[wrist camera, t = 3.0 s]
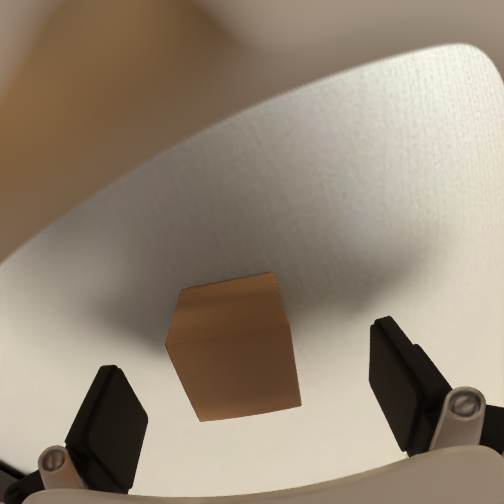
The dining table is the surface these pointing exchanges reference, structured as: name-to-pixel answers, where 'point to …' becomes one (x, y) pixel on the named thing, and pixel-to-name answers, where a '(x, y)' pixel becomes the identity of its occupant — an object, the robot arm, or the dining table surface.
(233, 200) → the dining table surface
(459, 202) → the dining table surface
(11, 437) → the dining table surface
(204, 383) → the block
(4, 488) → the drawer with bar handle
